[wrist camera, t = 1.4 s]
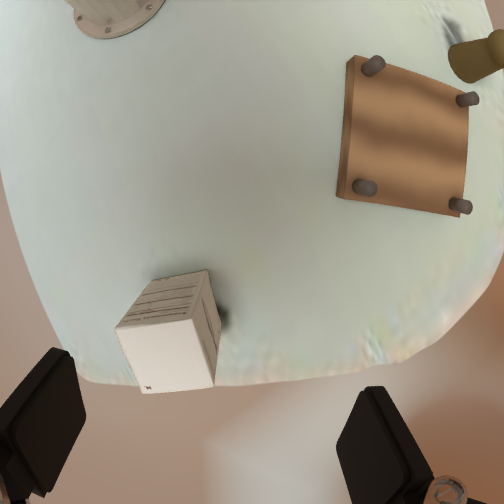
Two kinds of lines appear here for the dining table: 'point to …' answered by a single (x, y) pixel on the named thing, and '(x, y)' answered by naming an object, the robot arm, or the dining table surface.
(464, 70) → the brown rounded piece
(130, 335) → the supplement box
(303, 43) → the dining table surface
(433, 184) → the shelf board
